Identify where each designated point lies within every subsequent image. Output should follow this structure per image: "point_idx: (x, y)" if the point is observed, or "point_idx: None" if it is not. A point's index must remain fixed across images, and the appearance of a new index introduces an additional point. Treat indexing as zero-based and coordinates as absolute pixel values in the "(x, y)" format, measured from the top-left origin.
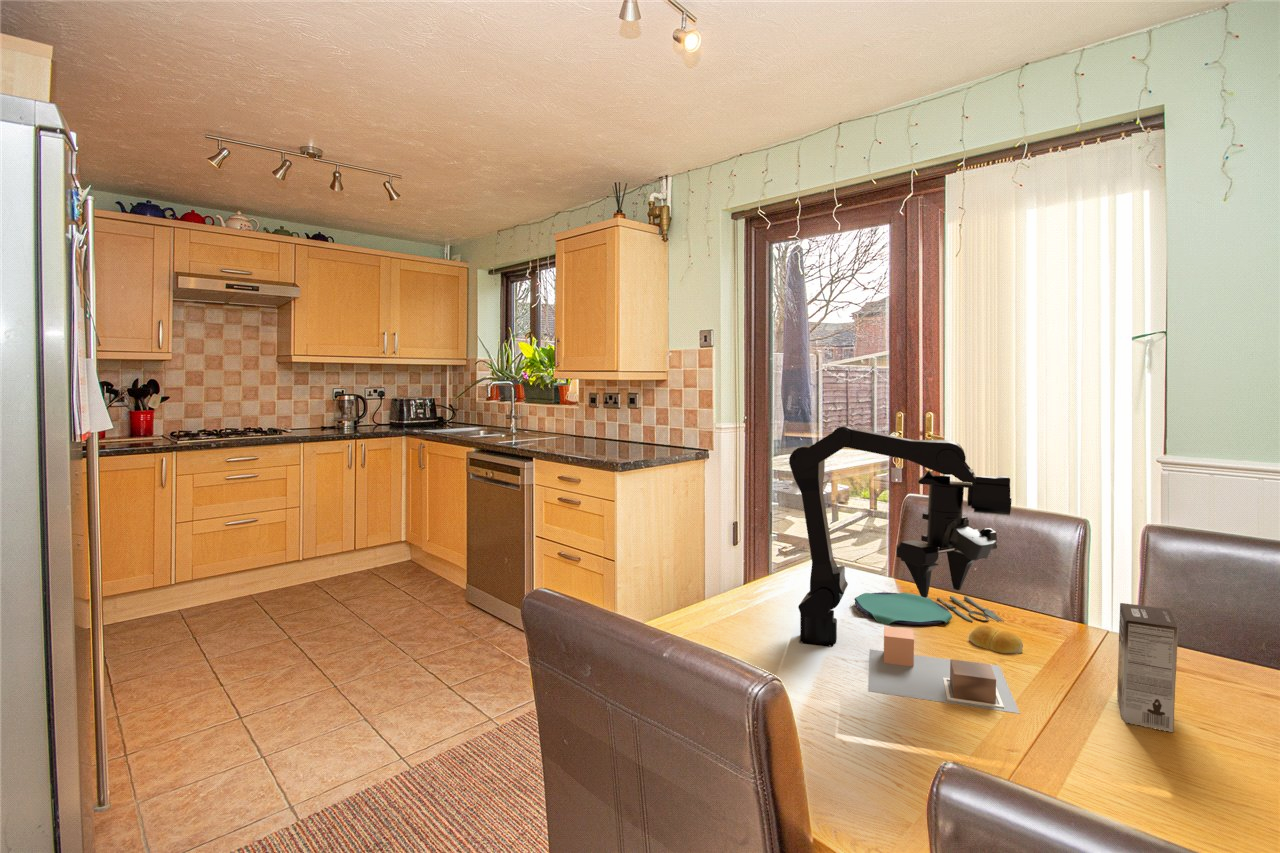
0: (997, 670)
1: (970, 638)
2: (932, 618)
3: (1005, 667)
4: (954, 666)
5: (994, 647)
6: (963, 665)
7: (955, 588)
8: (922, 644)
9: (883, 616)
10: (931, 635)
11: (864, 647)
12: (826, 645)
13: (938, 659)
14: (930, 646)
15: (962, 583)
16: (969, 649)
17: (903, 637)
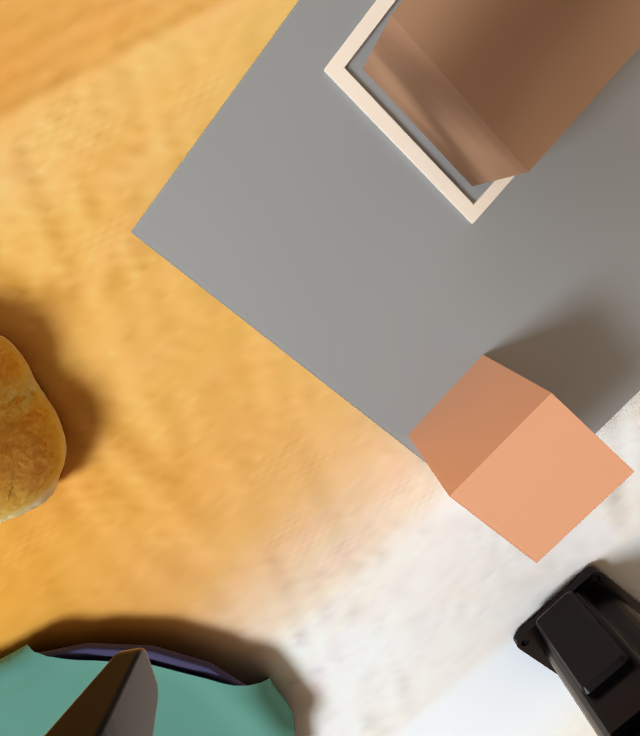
0: (183, 193)
1: (55, 482)
2: (53, 689)
3: (94, 234)
4: (592, 83)
5: (17, 370)
6: (541, 70)
7: (152, 685)
8: (263, 520)
9: (268, 722)
10: (162, 577)
11: (479, 553)
12: (605, 584)
13: (340, 374)
14: (247, 498)
15: (60, 727)
16: (110, 431)
17: (573, 429)
